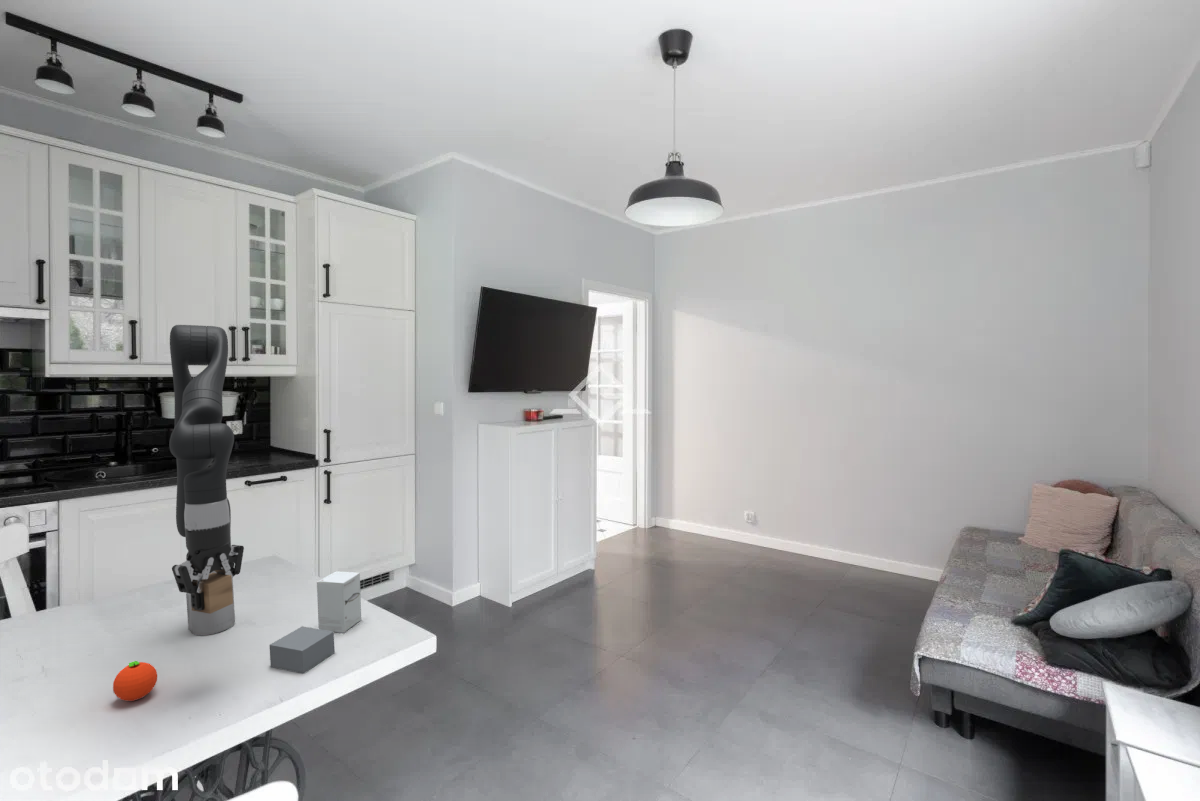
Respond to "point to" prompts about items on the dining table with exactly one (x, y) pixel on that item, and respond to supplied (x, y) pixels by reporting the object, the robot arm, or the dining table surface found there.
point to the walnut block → (217, 592)
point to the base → (302, 649)
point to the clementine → (135, 681)
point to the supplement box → (339, 601)
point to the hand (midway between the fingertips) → (212, 603)
